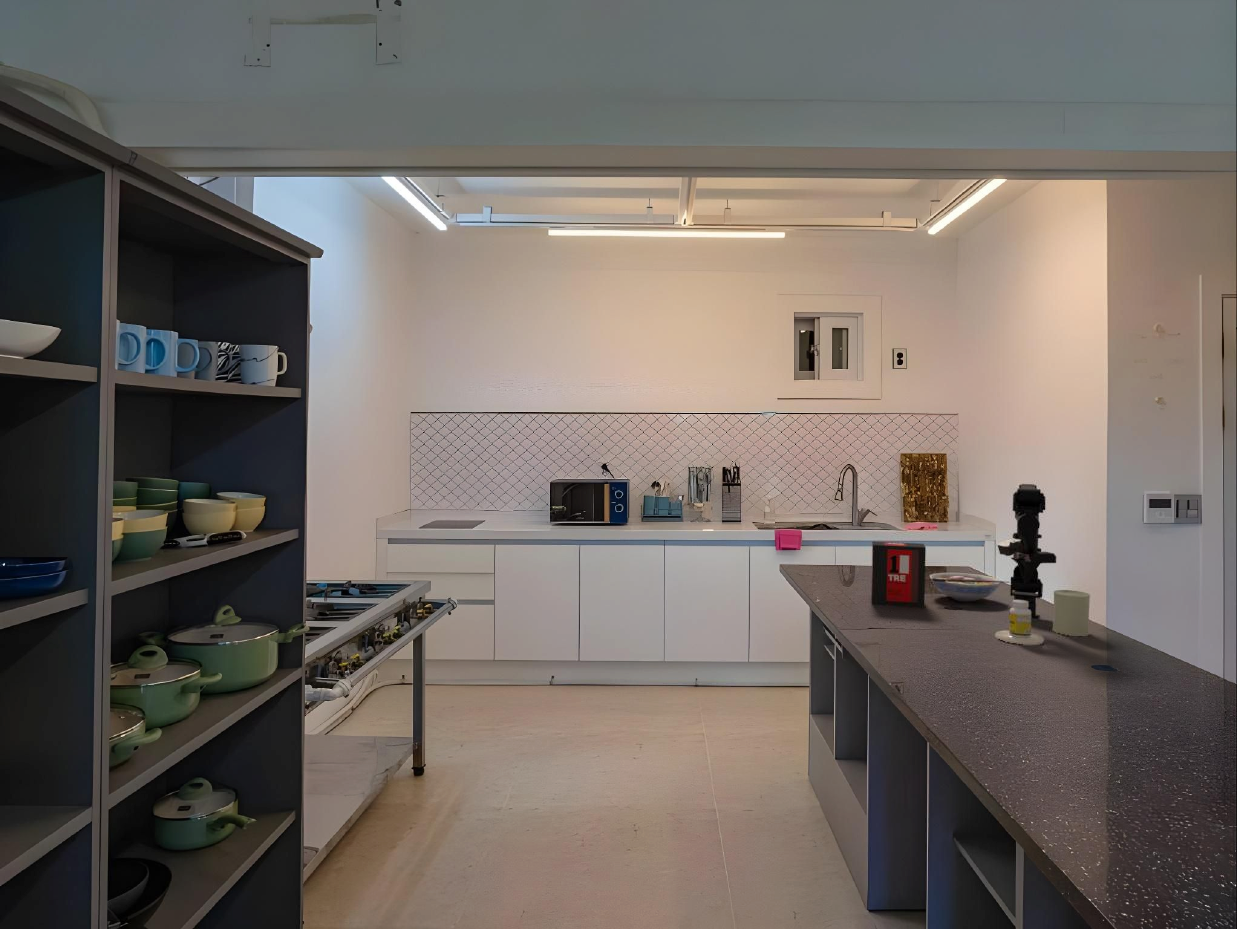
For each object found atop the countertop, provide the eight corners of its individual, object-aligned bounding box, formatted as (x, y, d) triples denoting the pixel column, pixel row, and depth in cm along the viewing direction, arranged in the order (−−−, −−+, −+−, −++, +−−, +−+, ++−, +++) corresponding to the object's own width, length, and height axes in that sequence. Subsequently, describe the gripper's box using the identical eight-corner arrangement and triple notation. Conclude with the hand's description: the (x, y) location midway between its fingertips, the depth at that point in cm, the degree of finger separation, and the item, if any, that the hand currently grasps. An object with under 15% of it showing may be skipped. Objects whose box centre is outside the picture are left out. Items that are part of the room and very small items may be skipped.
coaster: (986, 634, 223) (986, 630, 223) (1025, 633, 224) (1025, 630, 224) (1012, 645, 211) (1012, 642, 211) (1053, 644, 212) (1053, 641, 212)
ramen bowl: (989, 593, 280) (990, 571, 280) (1015, 608, 257) (1016, 583, 257) (917, 591, 282) (918, 569, 282) (937, 605, 260) (937, 581, 259)
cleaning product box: (922, 601, 266) (923, 543, 265) (924, 607, 257) (925, 547, 256) (871, 598, 270) (872, 541, 270) (871, 603, 262) (872, 544, 261)
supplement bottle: (1007, 632, 221) (1008, 598, 221) (1029, 634, 219) (1030, 599, 219) (1010, 637, 216) (1011, 602, 216) (1032, 639, 214) (1033, 603, 214)
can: (1079, 629, 230) (1080, 588, 229) (1095, 637, 221) (1096, 595, 220) (1046, 628, 231) (1047, 587, 230) (1061, 636, 222) (1062, 594, 221)
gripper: (984, 526, 241) (982, 576, 242) (1022, 534, 222) (1020, 589, 223) (1017, 526, 242) (1016, 576, 243) (1058, 534, 224) (1056, 588, 224)
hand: (1026, 582), depth 233 cm, fingers closed
